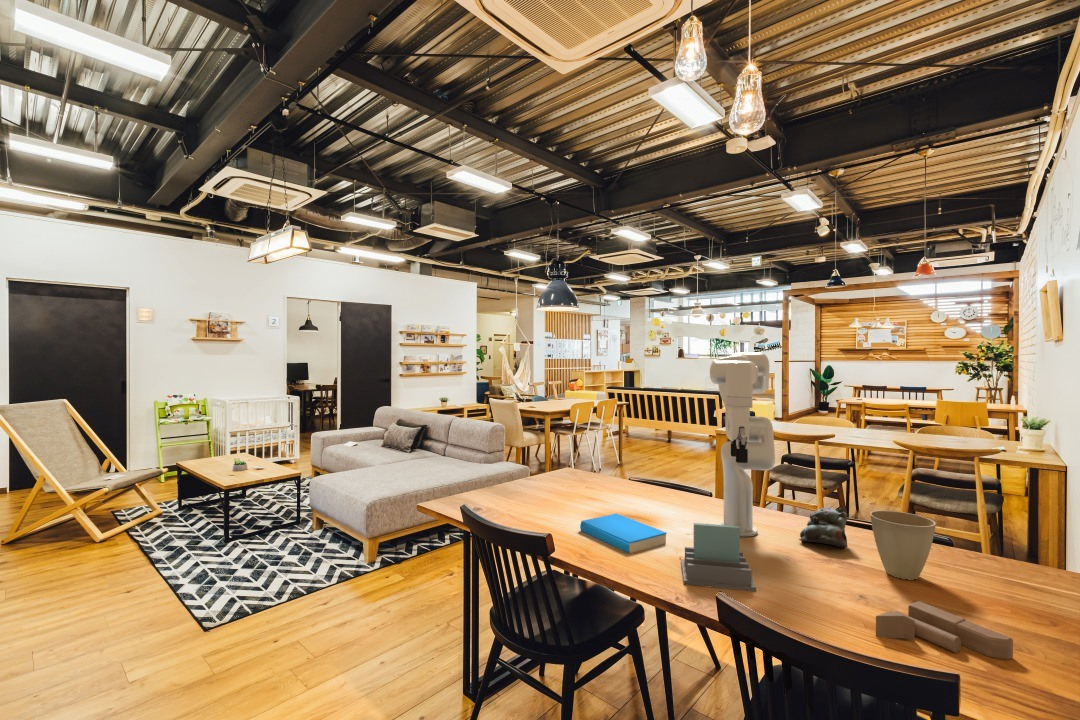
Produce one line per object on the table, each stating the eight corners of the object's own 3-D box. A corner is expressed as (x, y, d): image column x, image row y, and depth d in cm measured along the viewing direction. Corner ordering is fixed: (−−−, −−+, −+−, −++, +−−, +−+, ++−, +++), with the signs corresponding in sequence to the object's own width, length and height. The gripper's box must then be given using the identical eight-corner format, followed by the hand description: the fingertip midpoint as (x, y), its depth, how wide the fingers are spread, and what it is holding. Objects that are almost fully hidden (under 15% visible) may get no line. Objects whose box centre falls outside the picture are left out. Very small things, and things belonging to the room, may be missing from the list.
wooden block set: (914, 594, 116) (1014, 632, 100) (914, 618, 116) (1014, 660, 100) (870, 609, 109) (970, 652, 93) (870, 635, 109) (970, 683, 92)
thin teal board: (693, 568, 140) (693, 522, 140) (738, 573, 138) (738, 526, 138) (693, 571, 139) (693, 524, 139) (739, 575, 136) (739, 527, 136)
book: (615, 513, 185) (667, 531, 164) (615, 524, 184) (667, 544, 164) (579, 521, 175) (628, 541, 154) (579, 533, 175) (629, 555, 154)
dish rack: (681, 562, 147) (681, 545, 147) (745, 568, 143) (745, 550, 143) (684, 584, 133) (684, 565, 133) (756, 591, 129) (756, 572, 129)
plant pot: (945, 590, 130) (945, 529, 130) (878, 581, 135) (878, 522, 135) (923, 568, 144) (923, 513, 144) (864, 561, 149) (863, 507, 149)
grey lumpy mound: (790, 539, 167) (795, 499, 172) (819, 551, 169) (823, 511, 174) (826, 541, 153) (830, 497, 158) (857, 554, 155) (860, 510, 160)
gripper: (721, 400, 159) (721, 453, 158) (729, 404, 142) (729, 464, 142) (747, 400, 157) (747, 454, 157) (758, 405, 140) (758, 465, 140)
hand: (738, 459), depth 149 cm, fingers open, 9 cm apart
